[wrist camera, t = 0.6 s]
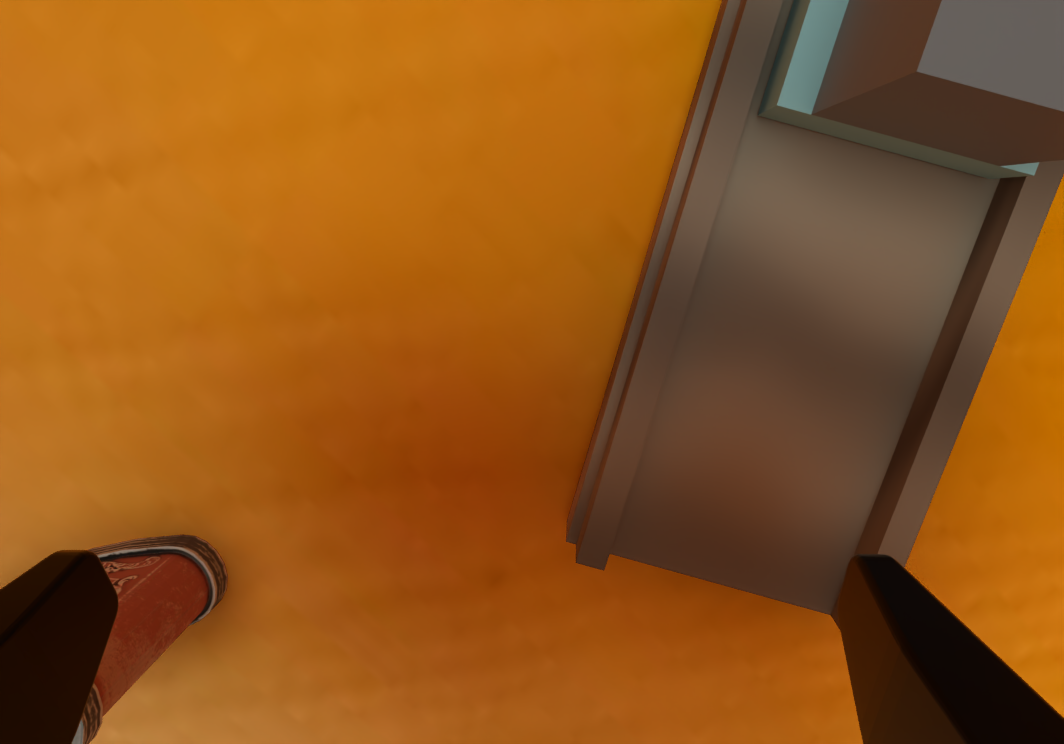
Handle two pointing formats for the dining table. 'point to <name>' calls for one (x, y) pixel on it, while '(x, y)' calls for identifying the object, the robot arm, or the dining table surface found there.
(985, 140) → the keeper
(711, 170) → the rail
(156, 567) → the lighter
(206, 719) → the dining table surface
